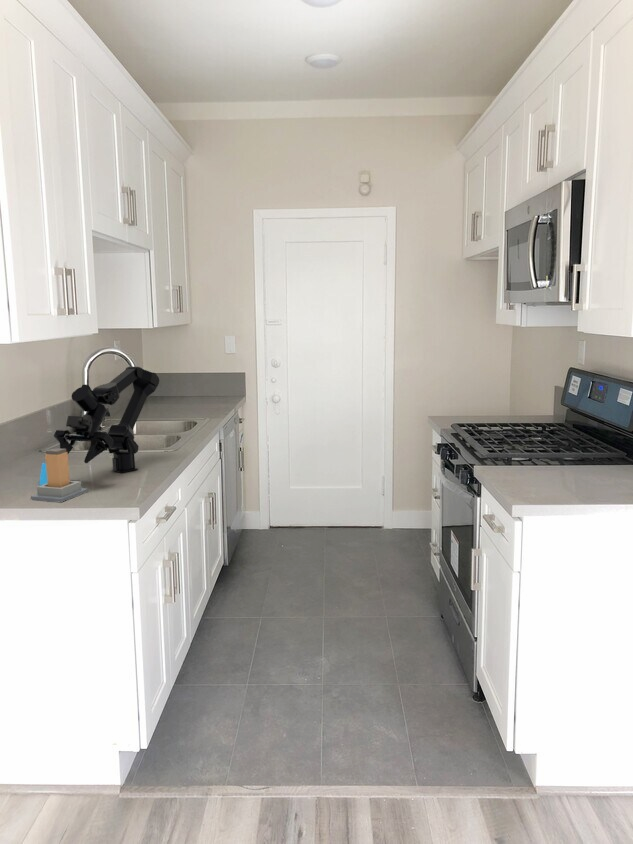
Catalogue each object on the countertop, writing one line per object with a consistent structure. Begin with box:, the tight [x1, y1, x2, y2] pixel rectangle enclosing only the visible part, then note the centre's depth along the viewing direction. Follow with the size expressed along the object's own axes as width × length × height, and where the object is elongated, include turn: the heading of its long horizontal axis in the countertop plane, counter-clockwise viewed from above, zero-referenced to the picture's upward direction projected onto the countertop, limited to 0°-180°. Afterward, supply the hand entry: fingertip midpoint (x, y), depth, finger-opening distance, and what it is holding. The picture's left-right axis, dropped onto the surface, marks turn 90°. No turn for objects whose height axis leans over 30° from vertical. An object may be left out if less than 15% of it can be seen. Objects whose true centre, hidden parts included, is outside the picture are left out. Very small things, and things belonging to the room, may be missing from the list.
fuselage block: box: [44, 447, 71, 488], centre depth 203 cm, size 4×4×13 cm
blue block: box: [38, 462, 48, 486], centre depth 220 cm, size 7×7×18 cm
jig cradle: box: [30, 480, 89, 503], centre depth 204 cm, size 12×11×4 cm
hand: (72, 461), depth 209 cm, fingers open, 9 cm apart
